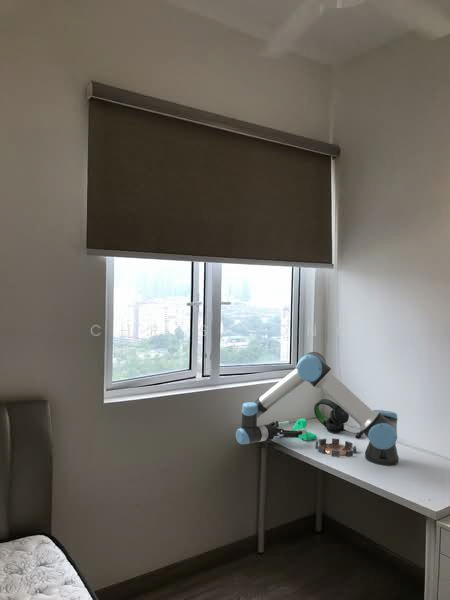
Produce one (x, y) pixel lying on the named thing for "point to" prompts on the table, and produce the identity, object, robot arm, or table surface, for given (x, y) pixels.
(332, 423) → the headset
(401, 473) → the table surface
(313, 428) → the table surface
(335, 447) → the ring collar
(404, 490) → the table surface
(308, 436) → the camera mount
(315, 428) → the table surface
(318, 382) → the robot arm
